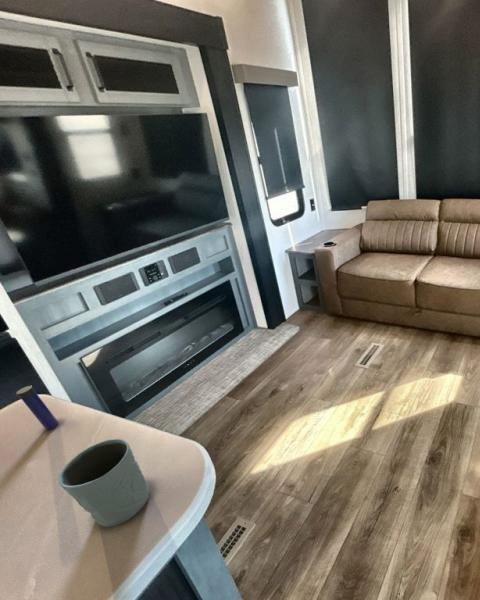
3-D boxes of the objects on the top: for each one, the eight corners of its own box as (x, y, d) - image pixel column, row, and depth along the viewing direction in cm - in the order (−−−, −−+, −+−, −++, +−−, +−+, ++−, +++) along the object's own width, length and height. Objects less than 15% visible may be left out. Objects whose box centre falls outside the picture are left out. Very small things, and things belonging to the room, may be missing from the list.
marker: (42, 431, 89) (12, 394, 84) (51, 422, 92) (23, 386, 86) (53, 430, 89) (24, 393, 84) (62, 421, 92) (34, 385, 86)
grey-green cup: (87, 510, 69) (51, 469, 63) (144, 470, 75) (116, 429, 70) (104, 542, 63) (67, 499, 57) (165, 495, 70) (136, 453, 64)
